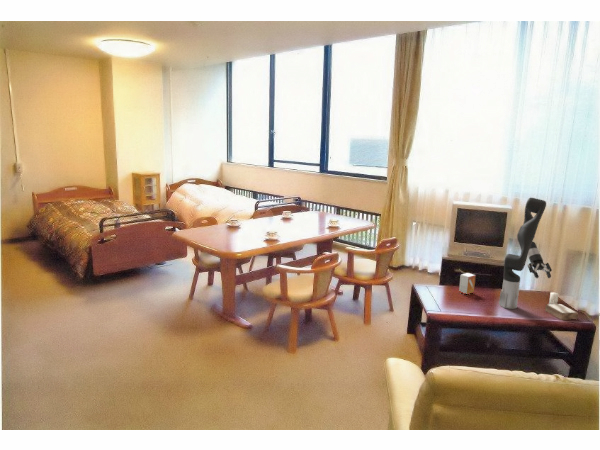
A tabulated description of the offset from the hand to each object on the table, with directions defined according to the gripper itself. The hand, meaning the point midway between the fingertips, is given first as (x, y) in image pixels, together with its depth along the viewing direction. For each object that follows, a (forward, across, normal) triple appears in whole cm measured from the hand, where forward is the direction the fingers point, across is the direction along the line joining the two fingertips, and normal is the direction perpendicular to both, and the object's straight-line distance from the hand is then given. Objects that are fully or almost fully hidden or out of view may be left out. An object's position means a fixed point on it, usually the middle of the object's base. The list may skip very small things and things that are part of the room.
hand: (543, 277), depth 280 cm
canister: (+18, 0, +2) cm, 19 cm away
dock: (+29, -6, -8) cm, 31 cm away
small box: (+1, -45, +20) cm, 49 cm away
